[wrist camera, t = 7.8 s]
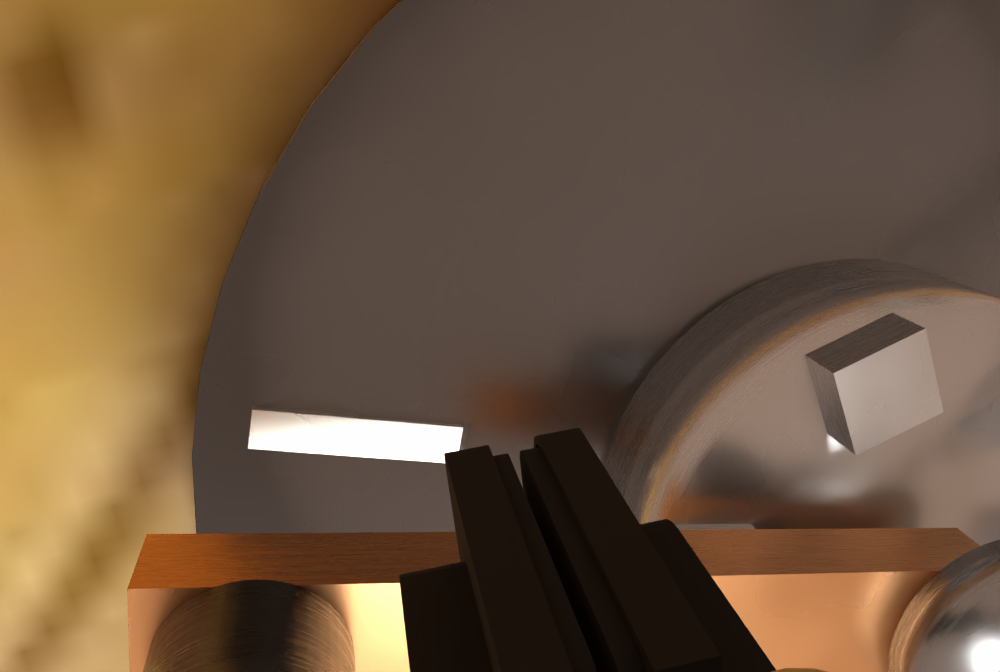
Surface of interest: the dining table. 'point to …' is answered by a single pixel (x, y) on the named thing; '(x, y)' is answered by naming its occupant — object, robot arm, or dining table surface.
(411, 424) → the dark gray metal disc
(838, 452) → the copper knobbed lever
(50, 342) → the dining table surface
